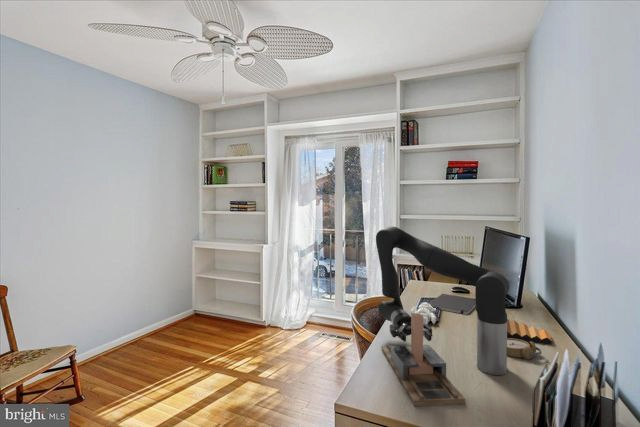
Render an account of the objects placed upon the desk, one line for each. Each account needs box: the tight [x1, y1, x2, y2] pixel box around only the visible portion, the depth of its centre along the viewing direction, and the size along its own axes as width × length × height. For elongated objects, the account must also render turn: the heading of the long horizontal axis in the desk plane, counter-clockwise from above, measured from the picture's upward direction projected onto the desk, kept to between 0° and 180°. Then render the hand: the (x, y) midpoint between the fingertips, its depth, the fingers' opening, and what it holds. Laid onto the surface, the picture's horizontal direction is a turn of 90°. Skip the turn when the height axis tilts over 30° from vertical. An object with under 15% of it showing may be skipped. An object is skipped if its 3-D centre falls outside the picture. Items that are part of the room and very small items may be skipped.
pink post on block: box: [408, 313, 433, 375], centre depth 112 cm, size 8×8×18 cm
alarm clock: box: [507, 337, 542, 360], centre depth 127 cm, size 11×5×15 cm
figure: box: [408, 302, 437, 325], centre depth 162 cm, size 13×8×25 cm
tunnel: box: [390, 344, 447, 380], centre depth 112 cm, size 14×14×5 cm
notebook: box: [427, 293, 476, 315], centre depth 189 cm, size 22×2×28 cm
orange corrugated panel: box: [507, 318, 553, 346], centre depth 151 cm, size 25×3×25 cm
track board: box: [381, 343, 466, 407], centre depth 112 cm, size 36×15×2 cm, turn 4°
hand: (417, 338), depth 112 cm, fingers open, 8 cm apart
